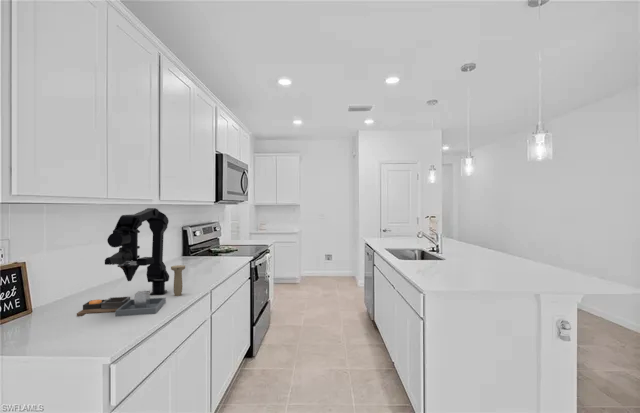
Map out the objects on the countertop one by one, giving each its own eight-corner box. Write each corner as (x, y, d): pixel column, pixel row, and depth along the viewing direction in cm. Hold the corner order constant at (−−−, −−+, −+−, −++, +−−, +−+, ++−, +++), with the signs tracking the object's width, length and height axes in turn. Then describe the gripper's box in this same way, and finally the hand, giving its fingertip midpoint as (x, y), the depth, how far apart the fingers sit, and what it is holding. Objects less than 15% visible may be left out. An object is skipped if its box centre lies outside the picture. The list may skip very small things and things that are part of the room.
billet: (138, 307, 131) (138, 291, 131) (149, 306, 132) (149, 290, 132) (134, 311, 126) (134, 294, 126) (146, 310, 127) (146, 293, 127)
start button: (92, 305, 132) (92, 299, 132) (103, 304, 133) (103, 299, 133) (86, 308, 127) (86, 303, 127) (98, 308, 128) (98, 302, 128)
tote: (129, 306, 134) (129, 299, 134) (165, 304, 138) (165, 297, 138) (115, 318, 120) (115, 310, 120) (155, 315, 123) (155, 308, 123)
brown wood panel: (95, 304, 137) (95, 296, 137) (133, 302, 140) (133, 294, 140) (76, 316, 122) (76, 307, 122) (120, 313, 125) (120, 304, 125)
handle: (171, 295, 150) (171, 265, 150) (185, 294, 153) (185, 265, 153) (170, 298, 146) (170, 267, 146) (184, 297, 148) (185, 266, 148)
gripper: (93, 246, 122) (93, 285, 122) (136, 247, 120) (136, 286, 120) (115, 243, 133) (114, 278, 133) (155, 243, 131) (154, 279, 131)
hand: (129, 280), depth 129 cm, fingers closed
